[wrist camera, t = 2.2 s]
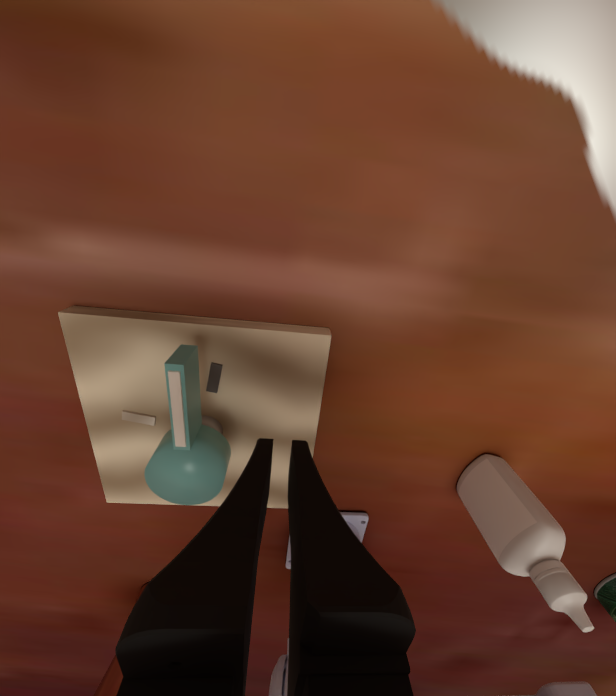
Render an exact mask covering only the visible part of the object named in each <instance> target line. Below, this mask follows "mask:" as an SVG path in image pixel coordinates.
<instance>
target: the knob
mask: <svg viewBox="0 0 616 696" xmlns="http://www.w3.org/2000/svg"><path fill="white" fill-rule="evenodd" d="M164 366H165V375H166V384H167V393H168V403H169V412H170V421H171V429H170V430H169V431H168V432H167V433H166V434H165V435H164V437H163V438H162V440H161V442H160V443H159V445H158V447H157V448H156V450H155V452H154V454H153V455H152V457H151V459H150V460H149V462H148V464H147V466H146V468H145V473H144V475H145V480H146V483H147V485H148V487H149V488H150V489H151V490H152V491H153V492H154V493H155V494H156V495H157V496H159V497H160V498H162V499H164V500H166V501H169V502H172V503H175V504H180V505H197V504H202V503H205V502H208V501H210V500H212V499H213V498H215V497H216V496H217V495H218V494H219V493H220V491H221V489H222V487H223V483H224V480H225V476H226V472H227V468H228V464H229V460H230V457H231V448H230V445H229V443H228V441H227V439H226V438H225V437H224V436H223V435H222V434H221V433H220V432H218V431H217V430H215V429H213V428H211V427H209V426H206V425H202V417H201V398H200V379H199V360H198V346H196V345H183V344H181V345H180V346H179V347H178V348H177V349H176V351H175V352H174V353H173V354H172V355H171V356H170V357H169V359H168V360H167V361H166V362H165V363H164Z"/></svg>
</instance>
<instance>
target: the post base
mask: <svg viewBox="0 0 616 696" xmlns="http://www.w3.org/2000/svg"><path fill="white" fill-rule="evenodd" d="M58 315H59V319H60V323H61V327H62V331H63V334H64V338H65V342H66V346H67V350H68V354H69V358H70V362H71V365H72V369H73V373H74V377H75V381H76V385H77V389H78V393H79V397H80V400H81V404H82V408H83V412H84V416H85V420H86V424H87V428H88V431H89V435H90V439H91V443H92V447H93V451H94V455H95V459H96V462H97V466H98V470H99V474H100V478H101V482H102V486H103V490H104V493H105V497H106V501H107V502H108V503H138V504H169V505H180V504H175V503H172V502H169V501H166V500H164V499H162V498H160V497H159V496H157V495H156V494H155V493H154V492H153V491H152V490H151V489H150V488H149V487H148V485H147V483H146V480H145V475H144V473H145V468H146V466H147V464H148V462H149V460H150V459H151V457H152V455H153V454H154V452H155V450H156V448H157V447H158V445H159V443H160V442H161V440H162V438H163V437H164V435H165V434H166V433H167V432H168V431H169V430H170V429H171V421H170V412H169V403H168V393H167V384H166V375H165V366H164V363H165V362H166V361H167V360H168V359H169V357H170V356H171V355H172V354H173V353H174V352H175V351H176V349H177V348H178V347H179V346H180V345H181V344H183V345H196V346H198V360H199V379H200V398H201V417H202V425H206V426H209V427H211V428H213V429H215V430H217V431H218V432H220V433H221V434H222V435H223V436H224V437H225V438H226V439H227V441H228V443H229V445H230V448H231V457H230V460H229V464H228V468H227V472H226V476H225V480H224V483H223V487H222V489H221V491H220V493H219V494H218V495H217V496H216V497H215V498H213V499H212V500H210V501H208V502H205V503H202V504H197V505H199V506H221V504H222V503H223V501H224V500H225V499H226V497H227V496H228V494H229V493H230V491H231V490H232V488H233V487H234V485H235V484H236V482H237V480H238V479H239V477H240V476H241V474H242V472H243V470H244V468H245V467H246V465H247V463H248V461H249V459H250V457H251V455H252V453H253V450H254V448H255V445H256V442H257V440H258V439H259V438H267V439H274V440H273V453H272V466H271V478H270V490H269V498H268V504H267V508H288V473H289V464H290V455H291V446H292V440H305V441H307V442H308V446H309V449H310V452H311V455H312V458H313V452H314V446H315V439H316V433H317V426H318V420H319V413H320V407H321V400H322V394H323V388H324V381H325V375H326V368H327V362H328V355H329V349H330V342H331V336H332V335H331V332H330V329H329V328H324V327H313V326H301V325H290V324H278V323H267V322H255V321H244V320H233V319H221V318H210V317H198V316H187V315H176V314H164V313H153V312H141V311H130V310H119V309H107V308H96V307H84V306H71V307H69V308H67V309H64V310H62V311H59V312H58Z"/></svg>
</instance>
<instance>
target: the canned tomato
mask: <svg viewBox="0 0 616 696" xmlns="http://www.w3.org/2000/svg"><path fill="white" fill-rule="evenodd" d="M594 595H595V597H596V598H597V599H598V600H599V601H600V603H601V604H602V605H603V607H604V608H605V609H606V611H607V612H608V613H609V614H610V615H611V617H612V618H613V619H614V621H615V622H616V573H615V574H612V575H610V576H609V577H607V578H605V579H604V580H602V581H601V582H600V583H599V584H598V585H597V586H596V588H595V590H594Z"/></svg>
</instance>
